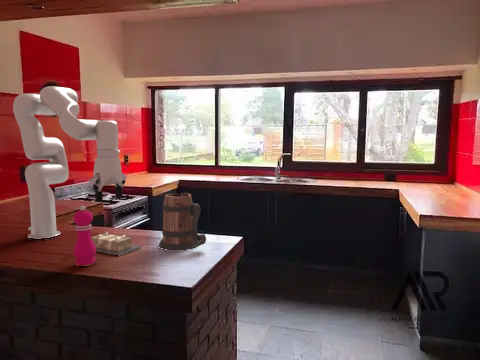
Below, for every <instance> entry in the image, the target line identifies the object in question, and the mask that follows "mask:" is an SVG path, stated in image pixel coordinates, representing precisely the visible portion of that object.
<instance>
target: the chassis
mask: <svg viewBox="0 0 480 360" xmlns="http://www.w3.org/2000/svg"><path fill="white" fill-rule="evenodd" d="M104 234H105V236H108V234H109V233H108V232H105V233H104ZM101 235H102V233H101V234H97V236H98V238H101ZM121 236H122V239H125V237H126V234H123V235H121ZM115 241H118V237H115ZM138 248H140V249H141V246H140V245H135V244H132V247H130V248H127V249H124V250H121V251H113V250H108V249H103V248H98V247H96V251H100V252H106V253H111V254H115V255H121V254H124V253H127V252H130V251H132V250H135V249H138ZM138 250H139V249H138ZM135 251H136V250H135ZM132 252H133V251H132ZM130 253H131V252H130ZM127 254H128V253H127ZM124 255H125V254H124ZM121 256H122V255H121Z"/></svg>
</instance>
